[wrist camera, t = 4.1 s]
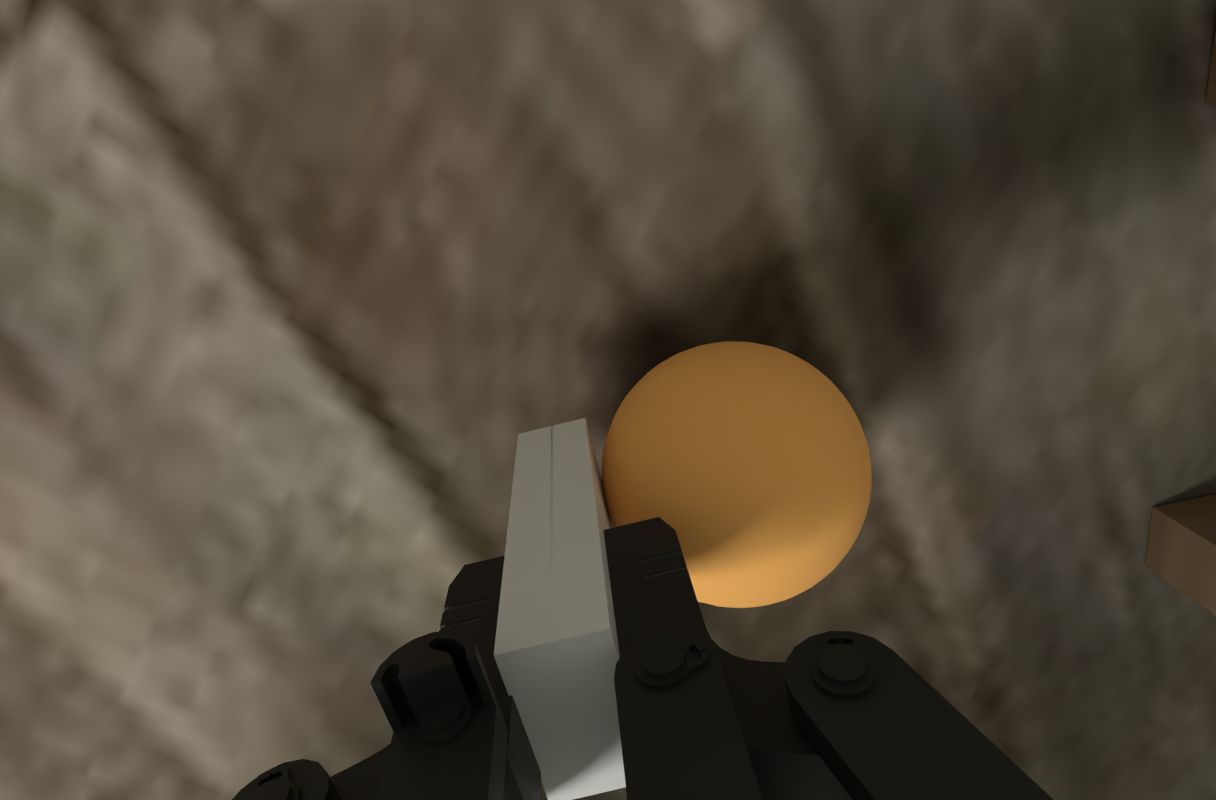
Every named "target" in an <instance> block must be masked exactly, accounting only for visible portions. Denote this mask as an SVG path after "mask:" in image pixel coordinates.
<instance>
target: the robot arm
mask: <svg viewBox="0 0 1216 800" xmlns="http://www.w3.org/2000/svg"><path fill="white" fill-rule="evenodd" d="M444 609H445V612H443V615H442V620H441V624H440V627H441V630H439V632H432V633H430V634H427V635H424V636H422V637H419V638H416V639H413V640H412V641H410V642H408V643H407V644H405V645H404V646H402V647H401V648H399V649H397V650H396V651H394V652H393V653H392V654H391V655H390V656H389V657H388V658H387V659H386V660H385V661H384V662H383V663H382V664H381V665H380V666H379V668H378V670H377V672H376V674H375V675H374V677H373V679H372V681H371V685H372V687H373V689H374V691H375V694H376V696H377V698H378V700H379V702H380V704H381V706H382V708H383V710H384V712H385V715H386V717H387V719H388V721H389V723H390V725H391V727H392V729H393V731H394V733H393V737H392V741H391V743H390V744H389V745H388V746H387V747H386V748H384V749H382V750H381V751H379V752H377V753H376V754H374V755H372V756H371V757H369V758H367V759H365V760H363V761H361V762H359V763H357V764H355V765H353V766H351V767H349V768H347V769H345V770H343V771H342V772H340V773H338V774H336V775H334V776H332V777H329V775H328V773H327V772H326V771H325V769H324V768H323V767H322V766H321V765H320V764H319V762H315V761H310V760H305V759H301V760H296V761H291V762H286V763H282V764H280V765H278V766H276V767H274V768H272V769H270V770H268V771H266V772H264V773H262V774H261V775H259V776H258V777H257V778H255V779H254V780H253V781H252V782H250V783H249V784H248V785H246V786H245V787H244V788H243V789H241V790H240V791H239V793H238V794H237V795H236V796H235V797H234V798H233V799H232V800H541V783H542V785H543V788H544V791H545V793H546V796H547V799H548V800H574V799H578V798H582V797H586V796H591V795H595V794H599V793H604V792H608V791H612V790H616V789H621V788H625V787H626V792H627V800H1053V799H1052V798H1051V797H1050V796H1049V795H1048V794H1047V793H1046V792H1045V791H1043V790H1042V789H1041V788H1040V787H1039V786H1038V785H1037V784H1036V783H1035V782H1034V781H1033V780H1032V779H1031V778H1029V777H1028V776H1027V775H1026V774H1025V773H1024V772H1023V771H1022V770H1021V769H1020V768H1019V767H1018V766H1017V765H1015V764H1014V763H1013V762H1012V761H1011V760H1010V759H1009V758H1008V757H1007V756H1006V755H1005V754H1004V753H1003V752H1001V751H1000V750H999V749H998V748H997V747H996V746H995V745H994V744H993V743H992V742H991V741H990V740H989V739H987V738H986V737H985V736H984V735H983V734H982V733H981V732H980V731H979V730H978V729H977V728H976V727H975V726H974V725H972V724H971V723H970V722H969V721H968V720H967V719H966V718H965V717H964V716H963V715H962V714H961V713H960V712H958V711H957V710H956V709H955V708H954V707H953V706H952V705H951V704H950V703H949V702H948V701H947V700H946V699H944V698H943V697H942V696H941V695H940V694H939V693H938V692H937V691H936V690H935V689H934V688H933V687H932V686H930V685H929V684H928V683H927V682H926V681H925V680H924V679H923V678H922V677H921V676H920V675H919V674H918V673H916V672H915V671H914V670H913V669H912V668H911V667H910V666H909V665H908V664H907V663H906V662H905V661H904V660H903V659H901V658H900V657H899V656H898V655H897V654H896V653H895V652H894V651H893V650H892V649H890V648H889V647H887V646H885V645H884V644H882V643H881V642H879V641H878V640H876V639H875V638H872V637H869V636H866V635H862V634H859V633H855V632H844V631H829V632H826V633H822V634H818V635H815V636H811V637H809V638H807V639H806V640H805V641H803V642H802V643H800V644H799V645H797V646H796V647H794V649H793V651H792V652H791V654H790V656H789V657H788V659H787V660H786V663H783V662H760V661H752V660H746V659H743V658H740V657H737V656H734V655H731V654H730V653H728V652H726V651H725V650H723V649H721V648H720V647H719V646H718V645H717V644H716V643H715V642H714V641H713V640H712V639H711V637H710V635H709V633H708V631H707V629H706V627H705V623H704V620H703V617H702V614H701V611H700V607H699V604H698V601H697V598H696V595H695V591H694V588H693V585H692V582H691V578H690V575H689V572H688V569H687V566H686V562H685V559H684V556H683V553H682V550H681V546H680V543H679V540H678V537H677V533H676V530H674V529H673V528H672V527H671V526H670V525H668V524H667V523H666V522H665V521H663V520H662V519H661V518H660V517H656V518H652V519H648V520H643V521H639V522H635V523H631V524H627V525H622V526H618V527H614V526H613V523H612V521H611V519H610V517H609V513H608V510H607V507H606V503H605V497H604V491H603V485H602V479H601V475H600V472H599V468H598V464H597V460H596V456H595V453H594V449H593V445H592V441H591V437H590V434H589V430H588V426H587V422H586V418H583V419H578V420H574V421H570V422H566V423H562V424H558V425H553V426H549V427H545V428H541V429H537V430H533V431H528V432H524V433H520V434H518V441H517V450H516V459H515V468H514V477H513V486H512V495H511V504H510V513H509V521H508V530H507V539H506V548H505V556H501V557H497V558H493V559H489V560H484V561H480V562H476V563H472V564H468V565H464V567H463V568H462V570H461V571H460V572H459V574H458V575H457V576H456V578H455V579H454V580H453V582H452V583H451V584H450V586H449V589H448V593H447V597H446V602H445V606H444Z"/></svg>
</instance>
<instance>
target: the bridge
mask: <svg viewBox="0 0 1216 800" xmlns="http://www.w3.org/2000/svg"><path fill="white" fill-rule="evenodd" d="M1212 103H1216V27H1215V35H1214V43H1213V50H1212V58H1211V66H1210V73H1209V81H1208V89H1207V96H1206V104H1212ZM1145 566H1146V567H1148V568H1149V569H1150V570H1152V571H1153V572H1154V573H1156V574H1157V575H1159V576H1160V577H1161V578H1163V579H1164V580H1166V581H1167V582H1168V583H1170V584H1171V585H1173V586H1174V587H1175V588H1177V589H1178V590H1180V591H1181V592H1182V593H1184V594H1185V595H1186V596H1188V597H1189V598H1191V599H1192V600H1193V601H1195V602H1196V603H1198V604H1199V605H1200V606H1202V607H1203V608H1205V609H1206V610H1207V611H1209V612H1210V613H1212V614H1213V615H1214V616H1216V494H1214V495H1209V496H1204V497H1199V498H1194V499H1190V500H1185V501H1180V502H1175V503H1170V504H1166V505H1161V506H1156V507H1153V510H1152V518H1151V526H1150V533H1149V541H1148V549H1147V556H1146V564H1145Z"/></svg>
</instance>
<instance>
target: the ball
mask: <svg viewBox="0 0 1216 800" xmlns="http://www.w3.org/2000/svg"><path fill="white" fill-rule="evenodd" d="M602 485H603V491H604V497H605V503H606V507H607V510H608V513H609V517H610V519H611V521H612V523H613V526H614V527H618V526H622V525H627V524H631V523H635V522H639V521H643V520H648V519H652V518H656V517H660V518H661V519H662V520H663V521H665V522H666V523H667V524H668V525H670V526H671V527H672V528H673V529H674V530H676V533H677V537H678V540H679V543H680V546H681V550H682V553H683V556H684V559H685V562H686V566H687V569H688V572H689V575H690V578H691V582H692V585H693V588H694V591H695V595H696V598H697V601H698V602H702V603H706V604H710V605H715V606H719V607H731V608H750V607H759V606H765V605H770V604H774V603H777V602H781V601H784V600H787V599H789V598H792V597H794V596H796V595H798V594H800V593H802V592H804V591H806V590H808V589H809V588H811V587H813V586H814V585H815V584H817V583H818V582H819V581H821V580H822V579H823V578H824V577H826V576H827V575H828V574H829V573H830V572H832V571H833V570H834V569H835V568H836V566H837V565H838V564H839V563H840V562H841V561H842V559H843V558H844V557H845V556H846V554H847V553H848V552H849V550H850V549H851V547H852V546H853V544H854V542H855V541H856V539H857V537H858V535H859V533H860V531H861V528H862V526H863V523H864V520H865V517H866V514H867V510H868V506H869V501H870V496H871V487H872V470H871V461H870V453H869V448H868V444H867V440H866V437H865V435H864V432H863V429H862V426H861V424H860V421H859V419H858V417H857V415H856V414H855V412H854V410H853V409H852V407H851V405H850V404H849V402H848V401H847V399H846V398H845V396H844V395H843V394H842V393H841V392H840V390H839V389H838V388H837V387H836V386H835V385H834V384H833V383H832V382H831V380H830V379H829V378H827V377H826V376H825V375H824V374H823V373H821V372H820V371H819V370H818V369H816V368H815V367H814V366H812V365H811V364H809V363H808V362H806V361H804V360H802V359H801V358H799V357H797V356H795V355H793V354H791V353H788V352H786V351H783V350H781V349H778V348H775V347H772V346H767V345H763V344H758V343H753V342H731V341H724V342H717V343H711V344H705V345H700V346H697V347H694V348H691V349H688V350H686V351H683V352H680V353H677V354H676V355H674V356H672V357H670V358H668V359H667V360H665V361H663V362H662V363H660V364H658V365H657V366H656V367H654V368H653V369H652V370H650V371H649V372H648V373H647V374H646V375H645V376H644V377H643V378H642V379H641V380H640V381H639V382H638V383H637V384H636V385H635V386H634V387H633V388H632V389H631V390H630V392H629V393H628V394H627V395H626V397H625V398H624V400H623V402H622V403H621V405H620V406H619V408H618V410H617V412H616V414H615V416H614V418H613V420H612V423H611V426H610V428H609V431H608V434H607V438H606V442H605V446H604V452H603V458H602Z"/></svg>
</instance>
